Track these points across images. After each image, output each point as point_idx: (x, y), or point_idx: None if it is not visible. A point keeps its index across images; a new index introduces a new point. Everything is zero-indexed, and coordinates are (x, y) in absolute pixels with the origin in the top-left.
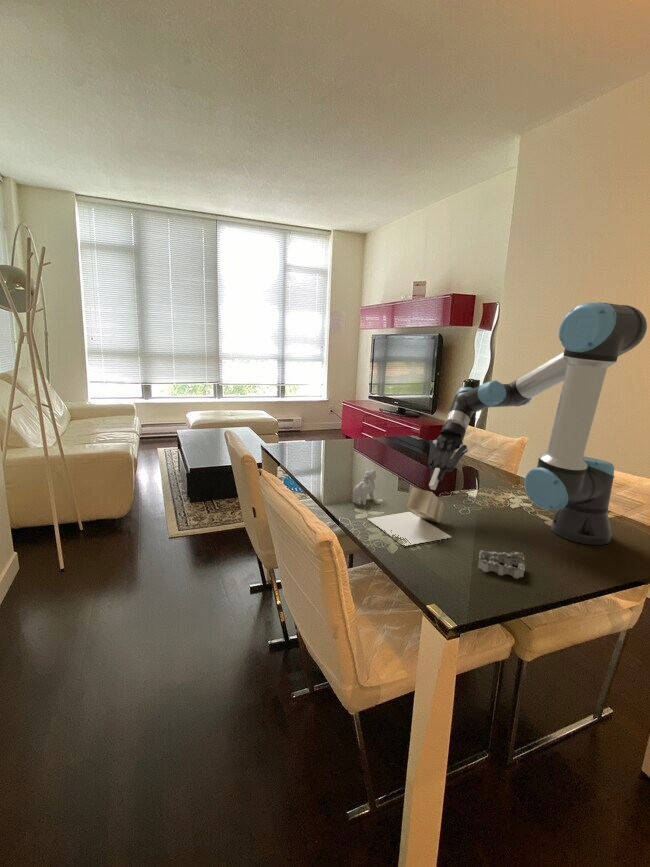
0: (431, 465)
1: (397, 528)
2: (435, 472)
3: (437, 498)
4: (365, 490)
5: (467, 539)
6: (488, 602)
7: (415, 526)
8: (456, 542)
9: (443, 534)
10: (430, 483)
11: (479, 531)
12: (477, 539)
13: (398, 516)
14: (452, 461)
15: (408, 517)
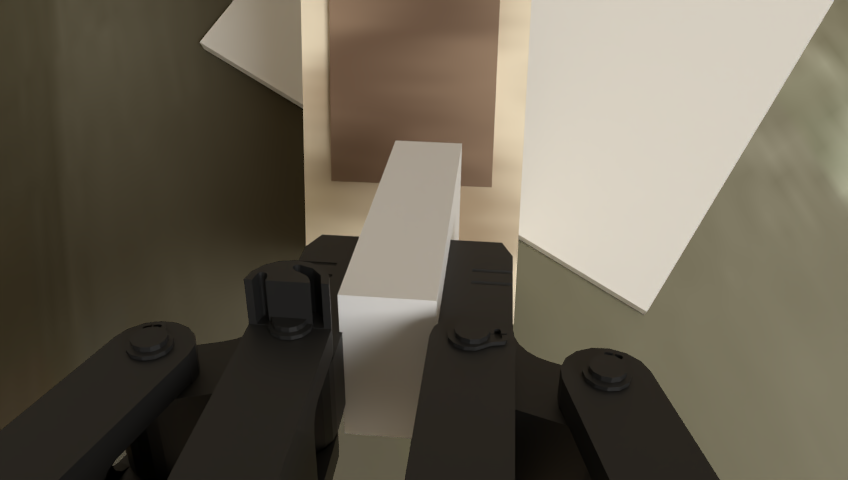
0: (557, 376)
1: None
2: (411, 246)
3: (303, 38)
4: None
5: (100, 95)
6: None
7: None
8: (160, 11)
9: (255, 41)
10: (444, 154)
11: (33, 280)
12: (37, 134)
13: (675, 148)
14: (26, 441)
15: (596, 178)
